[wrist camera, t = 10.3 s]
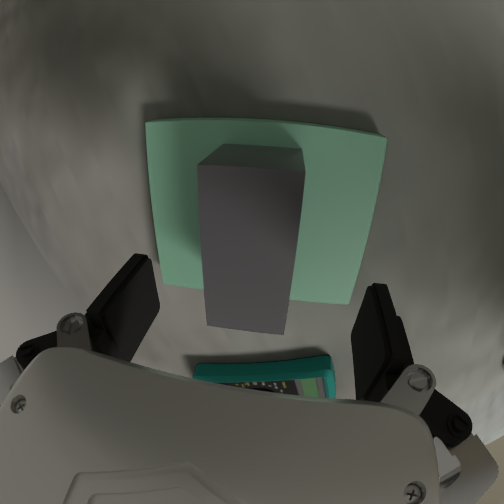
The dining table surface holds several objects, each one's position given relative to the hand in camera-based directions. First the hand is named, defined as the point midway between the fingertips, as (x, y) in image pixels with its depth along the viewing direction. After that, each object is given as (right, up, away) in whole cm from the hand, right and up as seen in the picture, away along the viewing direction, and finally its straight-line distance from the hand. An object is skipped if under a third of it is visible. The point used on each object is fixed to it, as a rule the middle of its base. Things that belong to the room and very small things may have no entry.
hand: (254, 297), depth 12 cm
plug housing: (0, +4, +6) cm, 7 cm away
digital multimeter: (+2, -12, +18) cm, 21 cm away
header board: (0, +5, +7) cm, 8 cm away
